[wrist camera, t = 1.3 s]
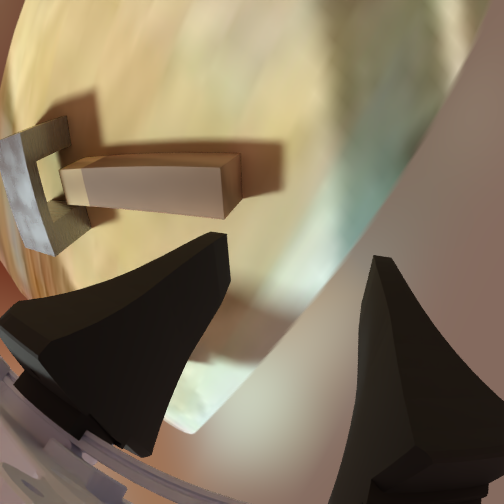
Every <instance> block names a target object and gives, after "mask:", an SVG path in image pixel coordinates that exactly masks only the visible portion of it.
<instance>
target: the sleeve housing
mask: <svg viewBox="0 0 504 504" xmlns="http://www.w3.org/2000/svg"><path fill="white" fill-rule="evenodd" d="M68 146H71V141H70V135H69V129H68V123H67V116H63V117H60V118H57V119H53V120H50V121H47V122H44V123H41V124H38V125H35V126H32V127H30V128H27V129H25V130H22V131H20V132H17V133H15V134H13V135H10V136H8V137H6V138H4V139H1V140H0V171H1V175H2V179H3V183H4V186H5V190H6V193H7V197H8V200H9V203H10V206H11V209H12V212H13V215H14V218H15V221H16V224H17V227H18V230H19V232H20V235H21V238H22V240H23V243H24V245H25V247H26V248H29V249H32V250H35V251H39V252H42V253H45V254H48V255H51V256H55V257H56V256H57V255H58V254H59V253H61V252H62V251H63V250H64V249H65V248H67V247H68V246H69V245H70V244H72V243H73V242H74V241H76V240H77V239H78V238H79V237H81V236H82V235H83V234H85V233H86V232H87V231H89V230H90V229H91V225H90V222H89V218H88V215H87V211H86V208H85V206H80V205H67V201H56V200H50V201H49V202H47V201H46V198H45V194H44V191H43V187H42V183H41V180H40V176H39V171H38V167H37V163H36V161H38V160H40V159H42V158H44V157H46V156H48V155H50V154H53V153H55V152H57V151H59V150H62V149H64V148H66V147H68Z"/></svg>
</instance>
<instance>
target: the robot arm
mask: <svg viewBox="0 0 504 504" xmlns="http://www.w3.org/2000/svg"><path fill="white" fill-rule="evenodd" d="M230 282H231V277H230V266H229V255H228V244H227V234H224V233H216V232H209V233H206V234H204V235H202V236H200V237H198V238H196V239H194V240H192V241H190V242H188V243H186V244H184V245H182V246H180V247H179V248H177V249H175V250H173V251H171V252H169V253H167V254H165V255H163V256H161V257H159V258H157V259H155V260H153V261H151V262H149V263H147V264H145V265H143V266H141V267H139V268H137V269H135V270H132V271H130V272H128V273H125V274H123V275H120V276H118V277H115V278H113V279H110V280H108V281H105V282H102V283H98V284H95V285H92V286H89V287H86V288H83V289H80V290H76V291H72V292H68V293H64V294H59V295H55V296H50V297H44V298H38V299H31V300H24V301H18V302H17V303H16V304H14V305H13V306H12V307H11V308H10V309H9V310H8V311H7V312H6V313H5V314H4V315H3V316H2V317H1V318H0V338H1V339H2V341H3V342H4V344H5V345H6V346H7V348H8V349H9V351H10V352H11V353H12V354H13V356H14V357H15V358H16V360H17V361H18V362H19V363H20V365H21V366H22V367H23V368H24V372H23V373H22V374H21V375H20V377H19V376H17V374H15V373H14V372H13V371H12V370H11V369H10V367H9V365H8V364H7V363H6V362H5V360H4V359H3V358H2V357H1V356H0V504H133V503H131V502H129V501H127V500H126V499H124V498H123V496H124V494H125V493H126V491H127V487H126V486H124V485H122V484H121V483H119V482H118V481H116V480H114V479H113V478H111V477H109V476H108V475H106V474H105V473H103V472H101V471H100V470H98V469H96V468H95V467H93V465H95V464H96V463H97V461H99V462H100V463H102V464H104V465H105V466H107V467H109V468H110V469H112V470H113V471H115V472H117V473H118V474H120V475H122V476H124V477H125V478H127V479H129V480H131V481H133V482H134V483H136V484H138V485H140V486H142V487H144V488H146V489H148V490H150V491H152V492H154V493H156V494H158V495H160V496H162V497H165V498H167V499H169V500H171V501H173V502H176V503H178V504H250V503H247V502H243V501H240V500H236V499H233V498H230V497H227V496H223V495H220V494H217V493H214V492H211V491H209V490H206V489H203V488H200V487H198V486H195V485H192V484H190V483H187V482H185V481H182V480H180V479H178V478H175V477H173V476H171V475H168V474H166V473H164V472H162V471H160V470H157V469H155V468H153V467H151V466H149V465H147V464H145V463H143V462H141V461H139V460H137V459H135V458H133V457H132V456H130V455H128V454H126V453H124V452H122V451H121V450H119V449H117V448H115V447H114V446H113V445H116V446H118V447H119V448H121V449H123V448H124V449H126V450H128V451H130V452H131V453H133V454H135V455H137V456H139V457H141V458H144V457H148V456H150V455H152V452H153V448H154V445H155V442H156V439H157V435H158V432H159V429H160V426H161V423H162V421H163V418H164V415H165V413H166V410H167V407H168V405H169V402H170V400H171V397H172V395H173V392H174V390H175V388H176V385H177V383H178V380H179V378H180V376H181V374H182V372H183V369H184V367H185V365H186V363H187V361H188V359H189V357H190V355H191V353H192V352H193V350H194V348H195V346H196V345H197V343H198V342H199V340H200V338H201V337H202V335H203V333H204V332H205V330H206V328H207V327H208V325H209V324H210V322H211V320H212V319H213V317H214V315H215V314H216V312H217V310H218V309H219V307H220V305H221V303H222V301H223V299H224V296H225V294H226V292H227V289H228V287H229V284H230ZM358 340H359V341H358V344H359V345H358V375H357V376H358V378H357V391H356V399H355V405H354V410H353V416H352V421H351V426H350V431H349V434H348V439H347V443H346V447H345V451H344V455H343V458H342V462H341V465H340V469H339V472H338V476H337V479H336V482H335V485H334V488H333V491H332V494H331V497H330V499H329V502H328V504H481V498H484V497H486V496H487V494H488V485H489V483H490V482H492V481H494V480H496V479H498V478H499V477H501V476H503V475H504V401H503V400H502V399H501V398H499V397H498V396H497V395H496V394H495V393H494V392H493V391H492V390H491V389H490V388H489V387H488V386H487V385H486V384H485V383H484V382H482V380H481V379H480V378H479V377H478V376H477V375H476V374H475V373H474V372H473V371H472V370H471V369H470V368H469V367H468V366H467V364H466V363H465V362H464V361H463V360H462V359H461V358H460V357H459V356H458V355H457V354H456V352H455V351H454V350H453V349H452V347H451V346H450V345H449V343H448V342H447V341H446V340H445V338H444V337H443V336H442V335H441V333H440V332H439V331H438V330H437V328H436V327H435V326H434V324H433V323H432V321H431V320H430V318H429V317H428V315H427V314H426V313H425V311H424V310H423V308H422V307H421V305H420V304H419V302H418V301H417V299H416V297H415V296H414V294H413V293H412V291H411V289H410V288H409V286H408V284H407V283H406V281H405V279H404V278H403V276H402V274H401V273H400V271H399V269H398V268H397V266H396V264H395V263H394V261H393V260H392V258H389V257H382V256H376V255H374V256H373V259H372V264H371V268H370V272H369V276H368V280H367V284H366V288H365V292H364V296H363V300H362V304H361V313H360V323H359V339H358Z"/></svg>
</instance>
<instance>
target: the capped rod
mask: <svg viewBox="0 0 504 504" xmlns="http://www.w3.org/2000/svg"><path fill="white" fill-rule="evenodd" d="M59 174H60V178H61V182H62V186H63V190H64V194H65V197H66V201H67V205H80V206H93V207H105V208H116V209H127V210H138V211H149V212H159V213H169V214H178V215H188V216H197V217H206V218H215V219H223V220H224V219H225V218H226V217H227V216H228V215H229V214H230V212H231V211H232V210H233V209H234V208H235V207H236V206H237V204H238V203H239V202H240V201H241V200H242V181H241V160H240V153H204V152H179V153H141V154H122V155H107V156H95V157H84V158H82V159H80V160H78V161H76V162H74V163H72V164H70V165H68V166H66V167H64V168H62V169H60V170H59Z"/></svg>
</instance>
